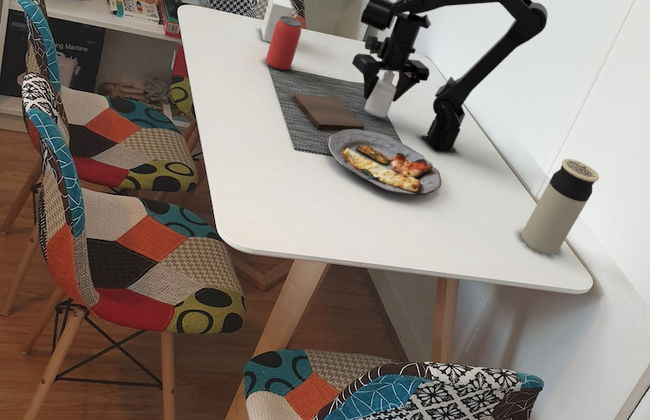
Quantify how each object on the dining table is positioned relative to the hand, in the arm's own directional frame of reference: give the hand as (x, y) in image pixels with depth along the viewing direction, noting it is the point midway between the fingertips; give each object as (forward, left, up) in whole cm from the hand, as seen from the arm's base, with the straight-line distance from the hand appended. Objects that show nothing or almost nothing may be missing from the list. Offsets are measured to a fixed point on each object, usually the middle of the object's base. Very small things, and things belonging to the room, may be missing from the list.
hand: (379, 99), depth 175 cm
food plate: (-23, +11, -5) cm, 26 cm away
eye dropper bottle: (0, 0, -4) cm, 4 cm away
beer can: (+25, +15, -5) cm, 30 cm away
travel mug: (-50, -12, -5) cm, 52 cm away
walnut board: (0, +13, -5) cm, 14 cm away
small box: (+43, +9, -5) cm, 44 cm away
